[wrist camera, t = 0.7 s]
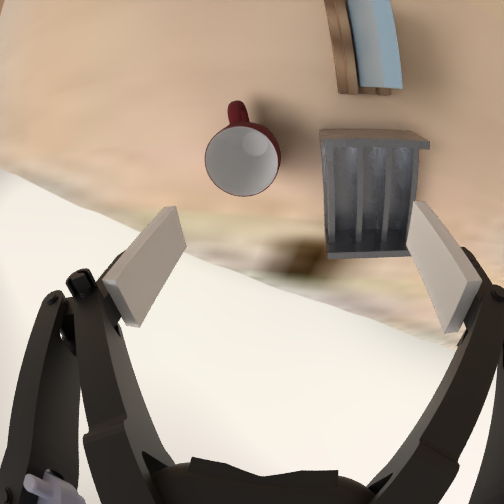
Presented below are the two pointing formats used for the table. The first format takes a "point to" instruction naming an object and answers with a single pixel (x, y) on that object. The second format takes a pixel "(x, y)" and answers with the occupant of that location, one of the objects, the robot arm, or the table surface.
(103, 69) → the table surface
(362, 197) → the rack
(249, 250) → the table surface
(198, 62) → the table surface
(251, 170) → the mug
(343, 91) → the stand
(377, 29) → the light blue slab
